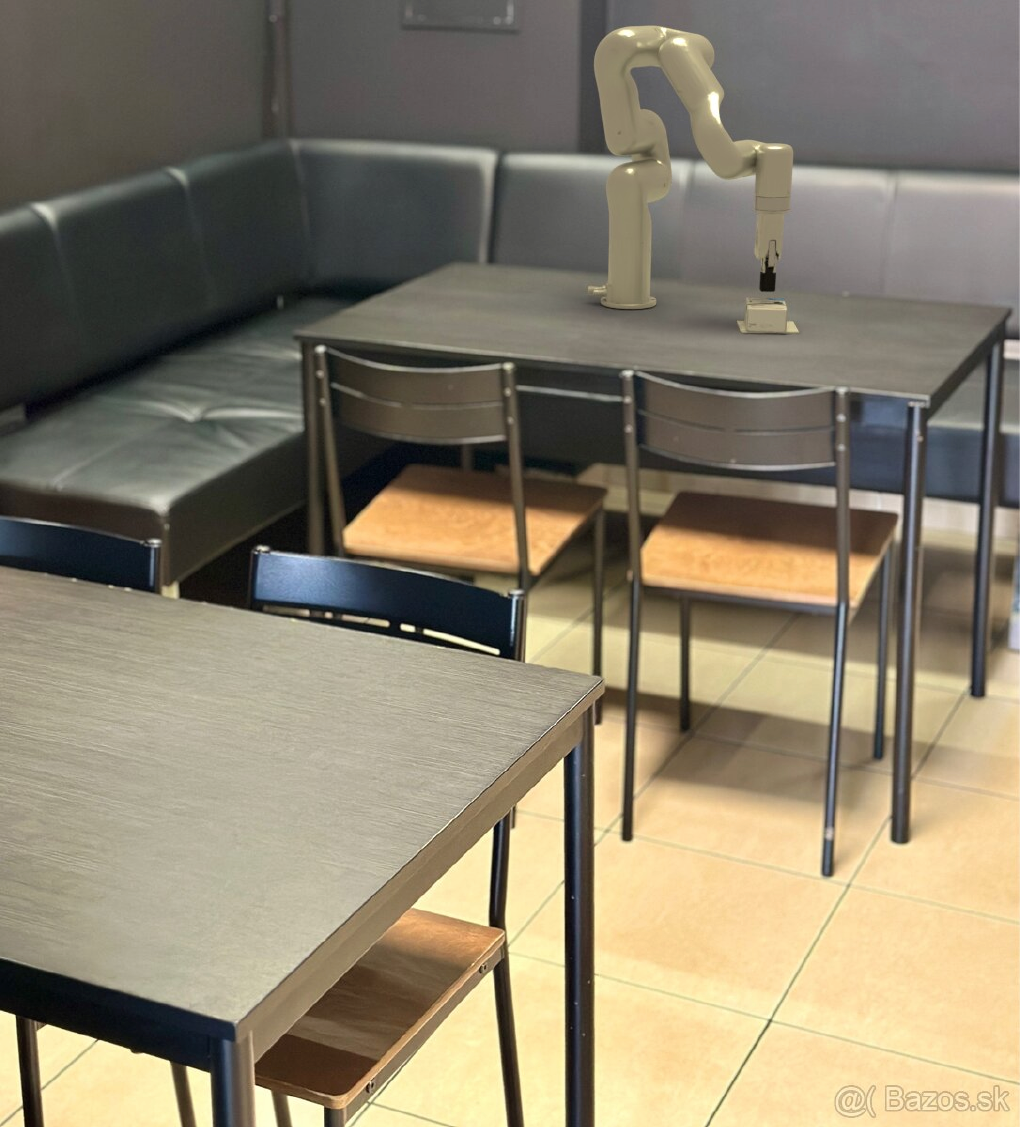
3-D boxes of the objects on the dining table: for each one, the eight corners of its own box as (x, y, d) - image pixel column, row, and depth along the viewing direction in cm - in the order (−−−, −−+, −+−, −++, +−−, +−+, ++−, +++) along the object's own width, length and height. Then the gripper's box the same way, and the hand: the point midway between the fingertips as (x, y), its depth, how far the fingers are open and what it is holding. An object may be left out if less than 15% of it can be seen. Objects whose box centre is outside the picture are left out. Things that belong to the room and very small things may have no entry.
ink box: (785, 297, 342) (788, 309, 331) (783, 320, 344) (787, 332, 333) (745, 296, 343) (747, 308, 332) (744, 319, 345) (746, 332, 334)
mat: (741, 333, 335) (741, 331, 334) (737, 322, 344) (737, 321, 344) (798, 333, 334) (798, 331, 334) (792, 323, 343) (793, 321, 343)
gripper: (750, 199, 341) (746, 284, 348) (757, 209, 327) (752, 297, 334) (785, 199, 341) (780, 284, 348) (794, 209, 327) (788, 298, 334)
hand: (767, 290), depth 341 cm, fingers closed
